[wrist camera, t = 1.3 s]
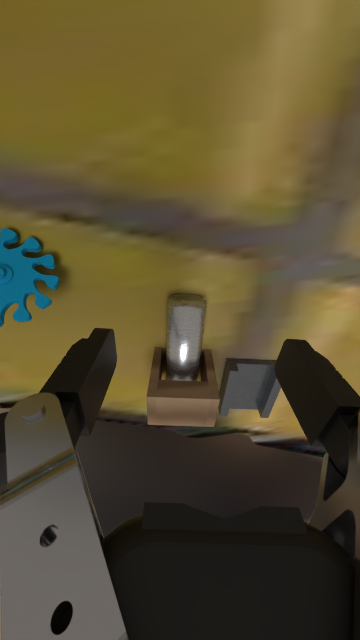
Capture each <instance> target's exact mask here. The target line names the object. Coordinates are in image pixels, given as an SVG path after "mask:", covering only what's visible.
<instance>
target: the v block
mask: <svg viewBox="0 0 360 640" xmlns="http://www.w3.org/2000/svg"><path fill="white" fill-rule="evenodd" d="M275 364H276V361H274V360H249V359H227V360H226V365H225V370H224V374H223V379H222V384H221V388H220V393H219V397H220V402H219V406H218V409H219V415H220V416H227V415H228V411H229V408H231V409H258V411H259V414H260V417H261V418H268V417H269V415H270V412H271V410H272V407H273V405H274V403H275V400H276V398H277V396H278V393H279V391H280V389H281V386H280V384H279V382H278V380H277V378H276V375H275Z"/></svg>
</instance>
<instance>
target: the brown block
mask: <svg viewBox="0 0 360 640" xmlns="http://www.w3.org/2000/svg"><path fill="white" fill-rule="evenodd" d="M161 376H162V348H155V350H154V356H153V362H152V368H151V374H150V380H149V386H148V392H147V414H148V425H177V426H206V427H214V424H215V420H216V415H217V411H218V406H219V402H220V397H219V392H218V386H217V381H216V375H215V370H214V364H213V359H212V354H211V350H204V352H203V360H202V367H201V381H177V380H161Z"/></svg>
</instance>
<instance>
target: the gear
mask: <svg viewBox="0 0 360 640" xmlns="http://www.w3.org/2000/svg"><path fill="white" fill-rule="evenodd" d="M0 234H1V237H0V327H1V326H2V325H3V324H4V315H5V312H6V310H7V309H8V308H9V307H10V306H11V305H12V304H14V303H18V304H19V308H18V309H17V310H16V312H15V313H14V314H13V318H14V320H15V321H17V322H26V321H30V320H31V319H32V316H31V314H30V313H29V311H28V310H27V307H26V300H27V297H28V296H29V295H30V294H35V295H36V300H35V303H36V305H37V306H38V307H39V308H41V309H45V308H47V307H48V306H49V305H51V304H52V301H51V300H50V299H49V298H48V297H47V296H45V295H43V294H41V293H40V292H39V291H38V289H37V288H36V282H37V281H39V280H43V281H45V283H46V284H47V286H48V287H49V288H50V289H53V290H56V289H57V287H58V285H59V283H60V280H59V278H58V277H57V276H54V275H43V274H40V273H38V272H37V271H35V267H36V266H37V265H43V266H44V267H46V268H48V269H54V268H55V260H54V258H53V256H52V255H49V254H47V255H44V256H42V257H39V258H28V257H24V255H25V253H26V252H40V251H41V250H42V248H41V246H40V245H39V243H38V242H37V241H36V240H35V239H34V238H33V237H30V238H28V239H27V240H26V242H25V243H24V244H23V245H21V246H20V247H17V248H14V249H7V246H8V245H10V244H13V243H16V242H17V241H18V240H19V237H18V235H17V234H16V233H15V232H14V231H12V230H9V229H6V228H3V229H2V230H1V232H0Z"/></svg>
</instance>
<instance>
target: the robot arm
mask: <svg viewBox="0 0 360 640" xmlns="http://www.w3.org/2000/svg"><path fill="white" fill-rule="evenodd" d="M116 362H117V353H116V344H115V336H114V331H113V329H105V328H95V329H94V330H93V331H92V333H91V335H90V336H89V338H88V339H83V338H82V339H81V340H79V341H78V342H76V343H75V344H74V345H72V347H71V348H70V349H69V351H68V352H67V354H66V356H64V358H63V359H62V361H61V363H60V364H59V365H58V366H57V368H56V369H55V371H54V372H53V373H52V375H51V376H50V378H49V379H48V381H47V382H46V383H45V385H44V386H43V388H42V389H41V390H40V392H39V393H37V394H33V395H31V396H28V397H26V398H24V399H22V400H21V401H19V402H18V403H17V404H16V405H14V406H13V407H12V408H11V410H10V411H9V412H5V413H1V414H0V486H2V485H5V484H8V486H7V490H6V491H4V492H3V493H2V494H1V496H0V607H1V608H0V610H1V640H360V396H359V395H358V394H357V393H356V392H355V391H354V389H353V388H352V387H351V386H350V385H349V384H348V382H347V381H346V380H345V379H344V378H342V375H341V374H340V373H339V372H338V371H337V370H336V368H335V367H334V366H333V365H332V364H331V363H330V361H329V360H328V359H326V358H325V357H324V356H322V355H321V354H319V353H318V352H316V351H314V349H313V348H312V347H311V346H310V345H309V343H308V342H307V341H306V340H297V339H286V340H285V341H284V343H283V346H282V348H281V351H280V354H279V356H278V359H277V361H276V364H275V375H276V378H277V380H278V382H279V384H280V386H281V388H282V390H283V392H284V394H285V396H286V398H287V400H288V401H289V403H290V405H291V407H292V409H293V411H294V413H295V415H296V417H297V419H298V421H299V423H300V425H301V427H302V429H303V431H304V433H305V435H306V437H307V439H308V441H309V443H310V445H311V446H320V447H325V449H326V451H327V453H326V454H325V456H324V460H323V466H322V472H321V479H320V485H319V492H318V498H317V504H316V507H315V510H314V512H313V514H312V516H311V519H310V521H309V524H308V523H306V522H304V521H303V518H302V516H301V513H300V510H299V508H293V507H265V506H264V507H263V506H261V507H258V508H255V509H252V510H249V511H246V512H243V513H240V514H237V515H234V516H231V517H228V518H220V517H218V516H215V515H212V514H210V513H207V512H204V511H201V510H199V509H196V508H193V507H191V506H188V505H185V504H179V503H178V504H177V503H149V502H145V503H144V511H143V514H140V515H137V516H135V517H133V518H131V519H128V520H126V521H125V522H123V523H122V524H120V525H119V526H117V527H116V528H115V529H113V530H112V531H111V532H110V533H109V534H107V536H105V538H104V537H103V534H102V531H101V528H100V525H99V521H98V518H97V515H96V512H95V509H94V506H93V502H92V500H91V496H90V493H89V490H88V486H87V483H86V480H85V477H84V473H83V470H82V467H81V464H80V461H79V457H78V454H77V451H76V447H75V446H76V444H77V441H78V439H79V436H80V435H83V436H84V435H85V436H90V435H91V432H92V429H93V427H94V424H95V421H96V419H97V416H98V413H99V411H100V408H101V405H102V402H103V400H104V397H105V394H106V392H107V389H108V386H109V384H110V381H111V378H112V376H113V373H114V370H115V367H116Z"/></svg>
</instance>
